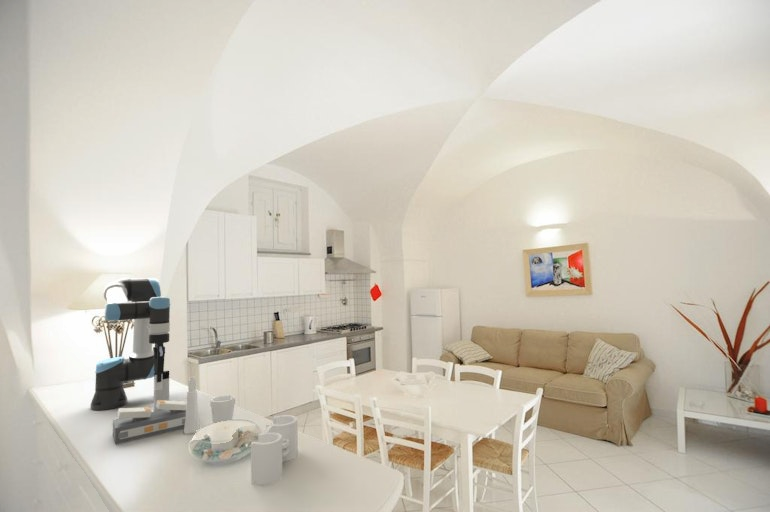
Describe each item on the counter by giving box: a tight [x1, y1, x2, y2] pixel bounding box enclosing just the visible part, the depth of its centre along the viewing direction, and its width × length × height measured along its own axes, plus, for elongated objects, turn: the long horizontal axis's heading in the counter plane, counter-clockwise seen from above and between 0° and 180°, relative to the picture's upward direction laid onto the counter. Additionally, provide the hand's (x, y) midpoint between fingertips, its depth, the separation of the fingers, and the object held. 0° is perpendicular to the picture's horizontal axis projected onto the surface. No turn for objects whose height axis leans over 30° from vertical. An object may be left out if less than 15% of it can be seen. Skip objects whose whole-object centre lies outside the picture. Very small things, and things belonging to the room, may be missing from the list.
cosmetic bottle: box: [183, 376, 200, 435], centre depth 157 cm, size 6×6×22 cm
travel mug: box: [152, 370, 170, 412], centre depth 178 cm, size 6×7×20 cm
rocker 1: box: [116, 406, 153, 419], centre depth 155 cm, size 6×11×3 cm, turn 129°
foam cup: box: [210, 394, 236, 424], centre depth 157 cm, size 10×9×13 cm
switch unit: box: [112, 410, 186, 445], centre depth 158 cm, size 12×27×7 cm, turn 129°
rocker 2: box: [156, 400, 187, 410], centre depth 163 cm, size 6×11×3 cm, turn 129°
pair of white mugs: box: [250, 414, 299, 487], centre depth 127 cm, size 25×10×12 cm, turn 178°
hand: (158, 389), depth 160 cm, fingers closed
